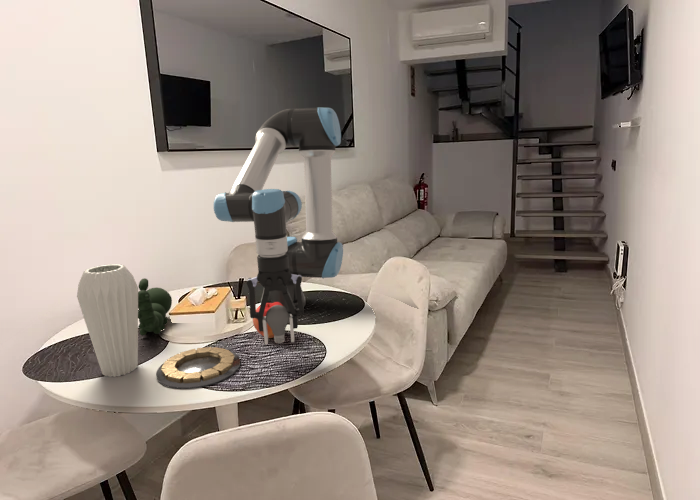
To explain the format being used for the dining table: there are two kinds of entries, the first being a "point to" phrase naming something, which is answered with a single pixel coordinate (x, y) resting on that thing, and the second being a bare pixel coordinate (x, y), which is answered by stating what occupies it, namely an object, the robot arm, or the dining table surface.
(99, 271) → the vase
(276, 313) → the light bulb
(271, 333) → the apple
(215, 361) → the socket
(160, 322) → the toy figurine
